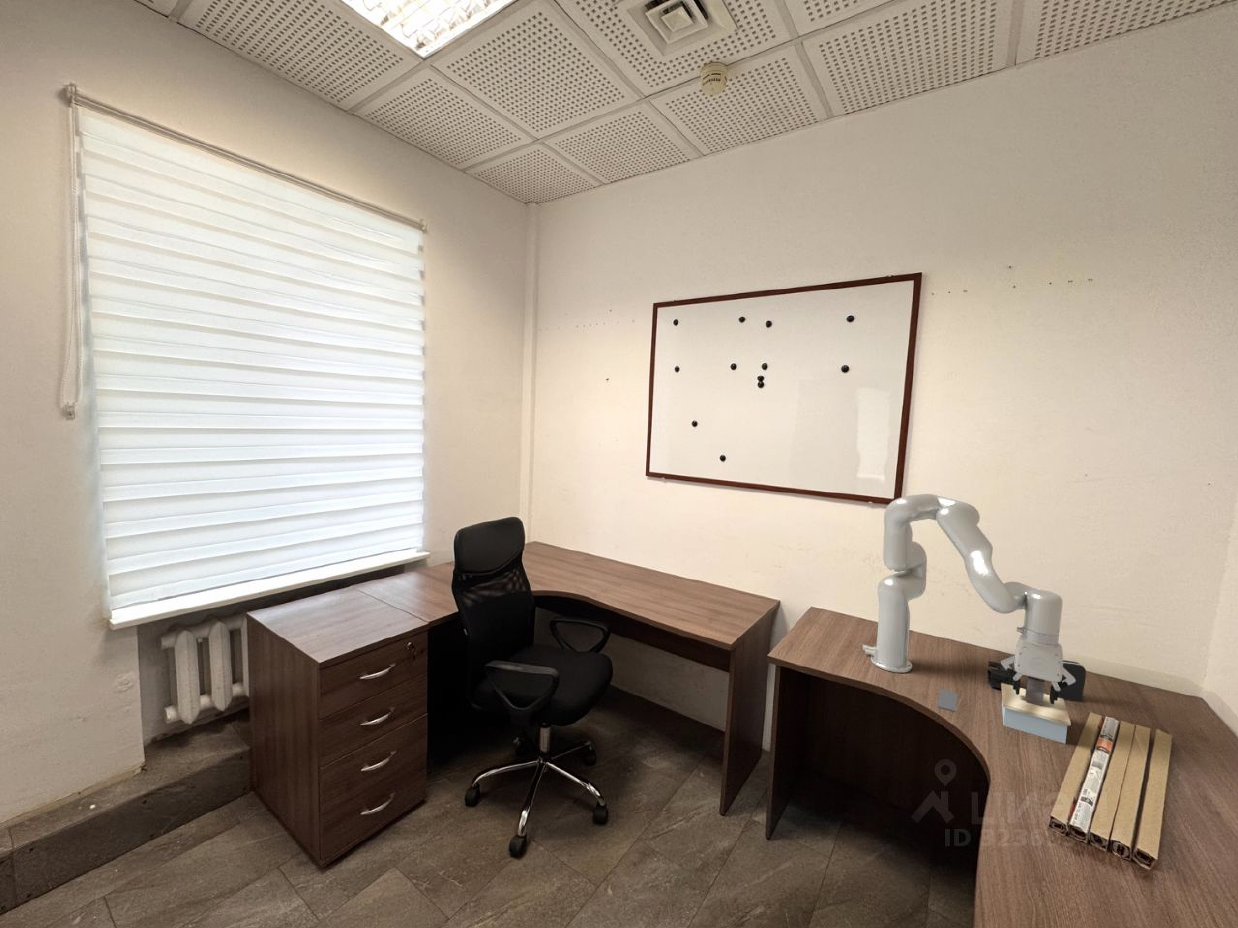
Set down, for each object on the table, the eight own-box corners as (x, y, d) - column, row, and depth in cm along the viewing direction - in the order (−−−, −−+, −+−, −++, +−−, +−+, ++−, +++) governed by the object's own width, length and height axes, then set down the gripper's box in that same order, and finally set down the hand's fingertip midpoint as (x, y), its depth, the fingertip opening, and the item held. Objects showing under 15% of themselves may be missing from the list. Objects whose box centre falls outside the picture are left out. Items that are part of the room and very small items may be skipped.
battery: (1076, 695, 157) (1080, 660, 156) (1083, 702, 153) (1087, 666, 152) (1049, 691, 159) (1053, 657, 158) (1055, 698, 155) (1059, 662, 154)
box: (1003, 727, 140) (1005, 706, 140) (1001, 705, 151) (1003, 686, 150) (1065, 745, 133) (1067, 724, 132) (1058, 721, 143) (1061, 701, 143)
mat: (937, 706, 150) (937, 705, 149) (940, 689, 159) (940, 688, 159) (978, 719, 144) (979, 717, 144) (979, 700, 153) (979, 698, 153)
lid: (1002, 710, 140) (1005, 680, 139) (1001, 688, 151) (1003, 660, 150) (1069, 729, 131) (1073, 697, 131) (1062, 704, 143) (1066, 675, 142)
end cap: (1018, 698, 155) (1020, 677, 155) (990, 691, 159) (992, 670, 158) (1013, 683, 164) (1015, 663, 163) (986, 677, 167) (988, 657, 167)
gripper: (1001, 632, 141) (995, 692, 143) (1085, 649, 131) (1077, 714, 133) (1000, 623, 147) (995, 681, 149) (1080, 639, 137) (1073, 701, 139)
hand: (1034, 696), depth 141 cm, fingers open, 6 cm apart
